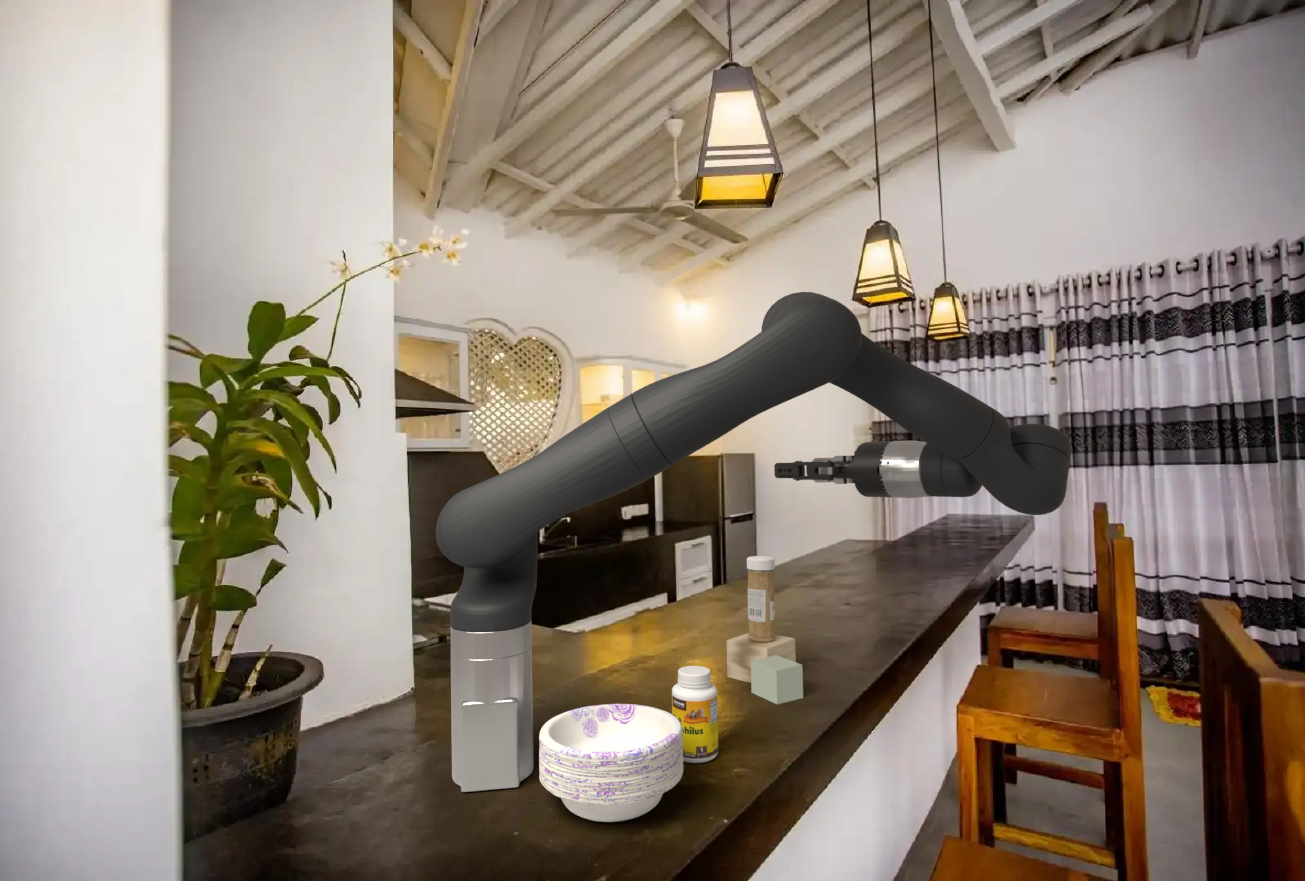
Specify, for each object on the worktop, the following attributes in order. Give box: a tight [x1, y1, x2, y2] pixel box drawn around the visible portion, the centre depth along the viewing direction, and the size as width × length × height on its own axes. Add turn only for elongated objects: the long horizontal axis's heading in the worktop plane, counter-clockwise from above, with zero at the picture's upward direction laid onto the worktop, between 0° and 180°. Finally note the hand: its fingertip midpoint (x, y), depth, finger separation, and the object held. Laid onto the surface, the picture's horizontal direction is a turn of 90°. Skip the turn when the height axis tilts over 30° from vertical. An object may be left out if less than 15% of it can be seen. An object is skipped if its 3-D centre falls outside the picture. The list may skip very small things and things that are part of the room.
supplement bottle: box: [671, 665, 719, 764], centre depth 83 cm, size 6×6×10 cm
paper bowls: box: [538, 703, 684, 823], centre depth 72 cm, size 15×15×8 cm
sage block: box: [750, 655, 804, 705], centre depth 103 cm, size 5×5×6 cm
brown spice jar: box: [746, 555, 776, 642], centre depth 112 cm, size 5×5×13 cm
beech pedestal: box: [726, 632, 797, 684], centre depth 112 cm, size 8×8×6 cm
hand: (792, 469), depth 102 cm, fingers open, 8 cm apart
